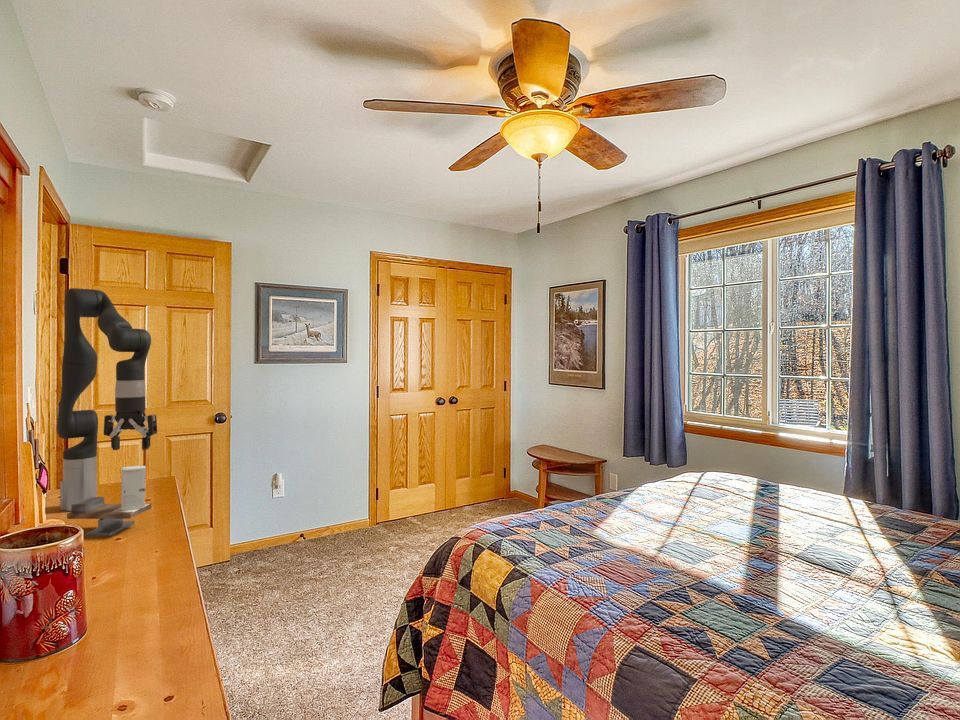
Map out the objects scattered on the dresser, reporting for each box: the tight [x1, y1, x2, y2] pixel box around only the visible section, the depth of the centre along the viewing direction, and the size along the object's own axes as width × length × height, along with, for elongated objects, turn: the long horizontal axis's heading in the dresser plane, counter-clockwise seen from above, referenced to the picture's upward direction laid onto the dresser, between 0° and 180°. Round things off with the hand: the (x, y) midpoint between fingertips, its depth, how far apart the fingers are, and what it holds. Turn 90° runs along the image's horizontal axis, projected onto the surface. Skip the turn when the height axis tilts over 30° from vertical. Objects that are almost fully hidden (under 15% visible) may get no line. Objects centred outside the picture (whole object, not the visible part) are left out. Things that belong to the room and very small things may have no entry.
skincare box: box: [120, 465, 147, 511], centre depth 156 cm, size 6×4×12 cm
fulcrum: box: [84, 519, 135, 538], centre depth 156 cm, size 7×11×4 cm, turn 2°
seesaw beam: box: [66, 496, 152, 520], centre depth 156 cm, size 18×10×4 cm, turn 92°
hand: (130, 449), depth 156 cm, fingers open, 8 cm apart
